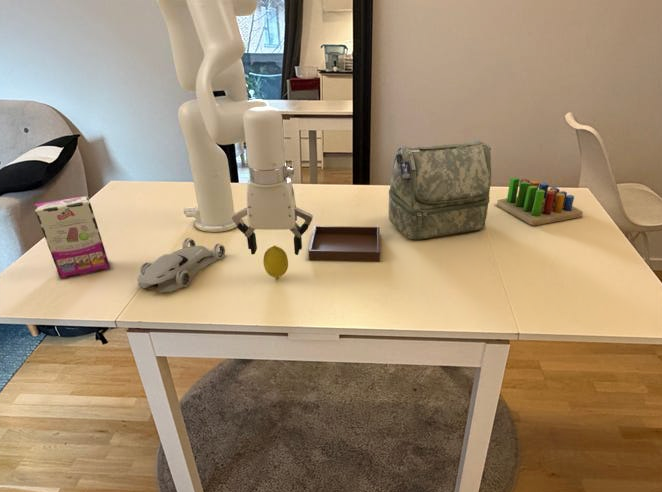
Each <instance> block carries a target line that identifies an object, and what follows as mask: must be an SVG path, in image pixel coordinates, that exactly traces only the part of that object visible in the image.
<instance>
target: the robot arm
mask: <svg viewBox="0 0 662 492" xmlns="http://www.w3.org/2000/svg"><path fill="white" fill-rule="evenodd" d="M155 2H156V3H157V6H158V8H159V11H160V12H161V15H162V16H163V20H164V22H165V24H166V28H167V31H168V37H169V43H170V47H171V53H172V58H173V63H174V68H175V73H176V77H177V81H178V84H179V86H180V87H181V89H182V90H183V91H184V92H186V93H191V94H195V93H196V94H195V95H196V98H194V99H190V100H187V101H185V102H183V103H182V104H181V105H180V106H179V108H178V111H177V118H178V122H179V126H180V129H181V132H182V135H183V138H184V142H185V145H186V149H187V153H188V158H189V165H190V169H191V176H192V180H193V187H194V194H195V198H196V204H197V206H195V207H184V208H183V214H184V215H185V217H186V218H195V219H194V226H195V228H197V229H198V230H200V231H202V232H203V231H204V232H209V233H219V232H220V233H221V232H226V231H230V230H233V229H235V228H237V229H238V230H239V231H240V232H241V233H242V234H244V237H245V238H246V241H247V248H248V250H250V254H251V255H255V254H256V252H257V250H258V245H257V237H256V233H255V230H264V231H265V230H272V231H274V230H275V231H276V230H279V231H280V230H281V231H283V230H287V231H288V230H289V231H290V232H291V233H292V234H293V235H294V236H293V248H294V249H293V250H294V251H293V252H294V255H295V256H298V255H299V253H300V250H301V251H302V249H303V241H302V239H303V238H302V236H303V235H304V233H306V232H307V231H308V229H309V227H310V225H311V223H312V221H313V218H314V216H313V214H311V213H310V212H307V211H305V210H303V209H301V208H299V207H297V204H296V203H297V202H296V195H295V190H294V186H293V182H292V179H291V178H290V176H294V173H295V172H294V168H290V167H289V166H287V165H288V164H287V161H286V149H285V133H284V123H283V121H284V120H283V115H282V113H281V111H280V110H279V109H277V108H274V107H271V105H270V104H269V103H268V102H267V101H266V100H263V99H252V100H251V99H250V100H249V96H248V89H247V81H246V74H245V68H244V67H245V66H244V65H243V61H242V58H243V56H244V54H245V52H246V43H245V40H244V37H243V34H242V31H241V28H240V25H239V22H238V18H247V17H251V16H253V15H254V14H255V13H256V11H257V9H258V4H259V3H258V2H259V0H155ZM218 91H219V92H220V91H223V92H224V93H225V95H221V96H215V95H214V92H218ZM240 143H245V149H246V155H247V157H246V158H247V165H248V173H249V179H248V180H247V183H246V207H244V208H243V209H241V210H239V211H237V212H235V205H234V198H233V190H232V184H231V183H232V181H231V175H230V167H229V160H228V157H227V154H226V153H225V151H224V150H223V149H222V148H221V147H220V146H221V145H222V146H226V145H232V144H233V145H235V144H240ZM219 145H220V146H219ZM246 216H247V223H248V225H247V223H245V222H244V221H243V220H242V219H243V218H245V217H246ZM298 217H299V218H301V219H303V220H304V222H303V223H302V224H301V225H299V224H298V223H297V220H298Z"/></svg>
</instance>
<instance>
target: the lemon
mask: <svg viewBox="0 0 662 492" xmlns="http://www.w3.org/2000/svg"><path fill="white" fill-rule="evenodd" d="M262 262H263V268H264V270H265V272H266V273H267V274H268V275H269V276H270V277H273V278H275V279H279V278H280V277H282V276H284V275H285V274H286V273H287V271H288V268H289V259H288V255H287V252H286V251H285V250H284V249H283V248H281V247H279V246H278V245H273V246H270V247H269V248H267V249H266V251H265V252H264V254H263V261H262Z"/></svg>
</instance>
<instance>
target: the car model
mask: <svg viewBox="0 0 662 492" xmlns="http://www.w3.org/2000/svg"><path fill="white" fill-rule="evenodd" d="M188 245H189V246H188ZM181 247H182V248H181V249H178V250H176V251H173V252H171V253H167V254H166V253H165V254H162V255H161V256H159V257H158V258H156V259H155V261H153V262H144V263H142V265H141V266H140V270H139V273H140V274H139V275H138V276H137V279H136V280H137V286H138V287H140V288H142V289H145V290H147V289H151V288H156V292H158V293H171V292H174V291H177V290H180V289H183V288H186V287H188V286H189V285H190V283H191V281H192V280H193V278H194V277H195V276H196V275H197V274H199V273H200V271H202V270H203V269H205V268H206V267H208V266H209V265H211V264H212V263H214V262H216V261H219V260H222V259H223V258H224V257H225V254H226V248H225V246H224V244H221V243H215V244H214V245H213V247H212V250H209V249H208V248H207V247H205V246H203V245H196V242H195V239H193V238H192V237H188V238H187V237H186V238H185V239H183V241H182V245H181Z"/></svg>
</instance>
